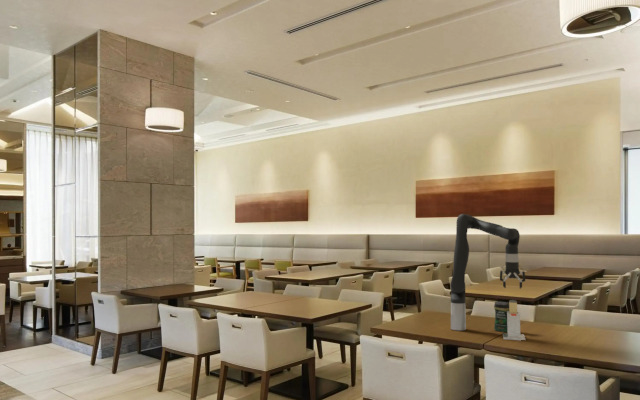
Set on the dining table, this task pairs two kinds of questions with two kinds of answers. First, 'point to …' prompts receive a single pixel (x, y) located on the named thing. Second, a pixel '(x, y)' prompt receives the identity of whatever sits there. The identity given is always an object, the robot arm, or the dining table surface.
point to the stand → (513, 327)
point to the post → (512, 306)
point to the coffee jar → (501, 316)
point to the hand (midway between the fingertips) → (512, 288)
